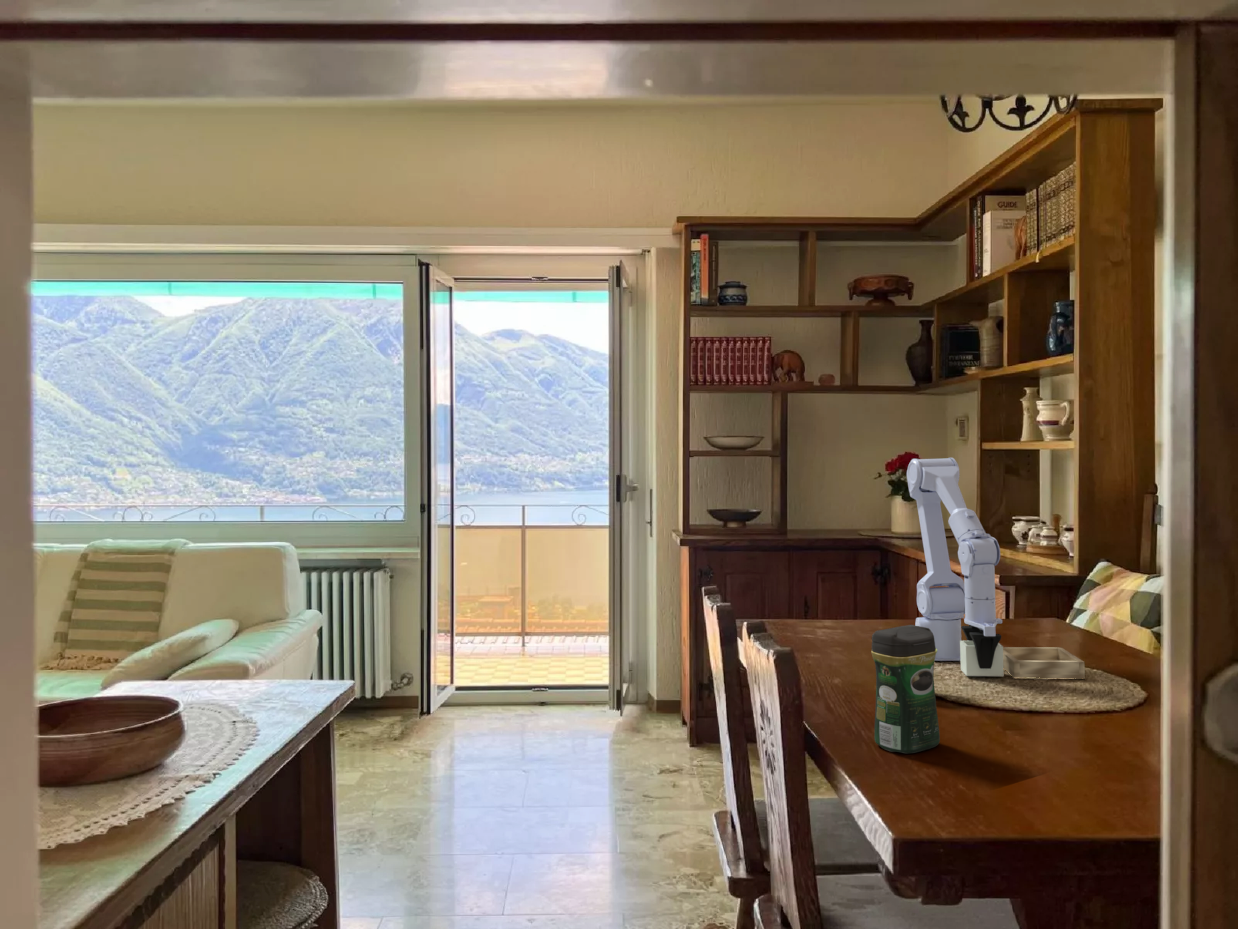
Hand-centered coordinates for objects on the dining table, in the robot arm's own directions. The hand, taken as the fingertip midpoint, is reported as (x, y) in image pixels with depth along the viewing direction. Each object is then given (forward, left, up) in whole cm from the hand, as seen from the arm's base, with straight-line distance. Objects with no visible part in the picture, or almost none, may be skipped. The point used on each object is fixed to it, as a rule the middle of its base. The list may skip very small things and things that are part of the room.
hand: (981, 664), depth 176 cm
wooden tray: (+12, +4, -2) cm, 13 cm away
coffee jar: (-22, -44, -2) cm, 49 cm away
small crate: (0, 0, -2) cm, 2 cm away
